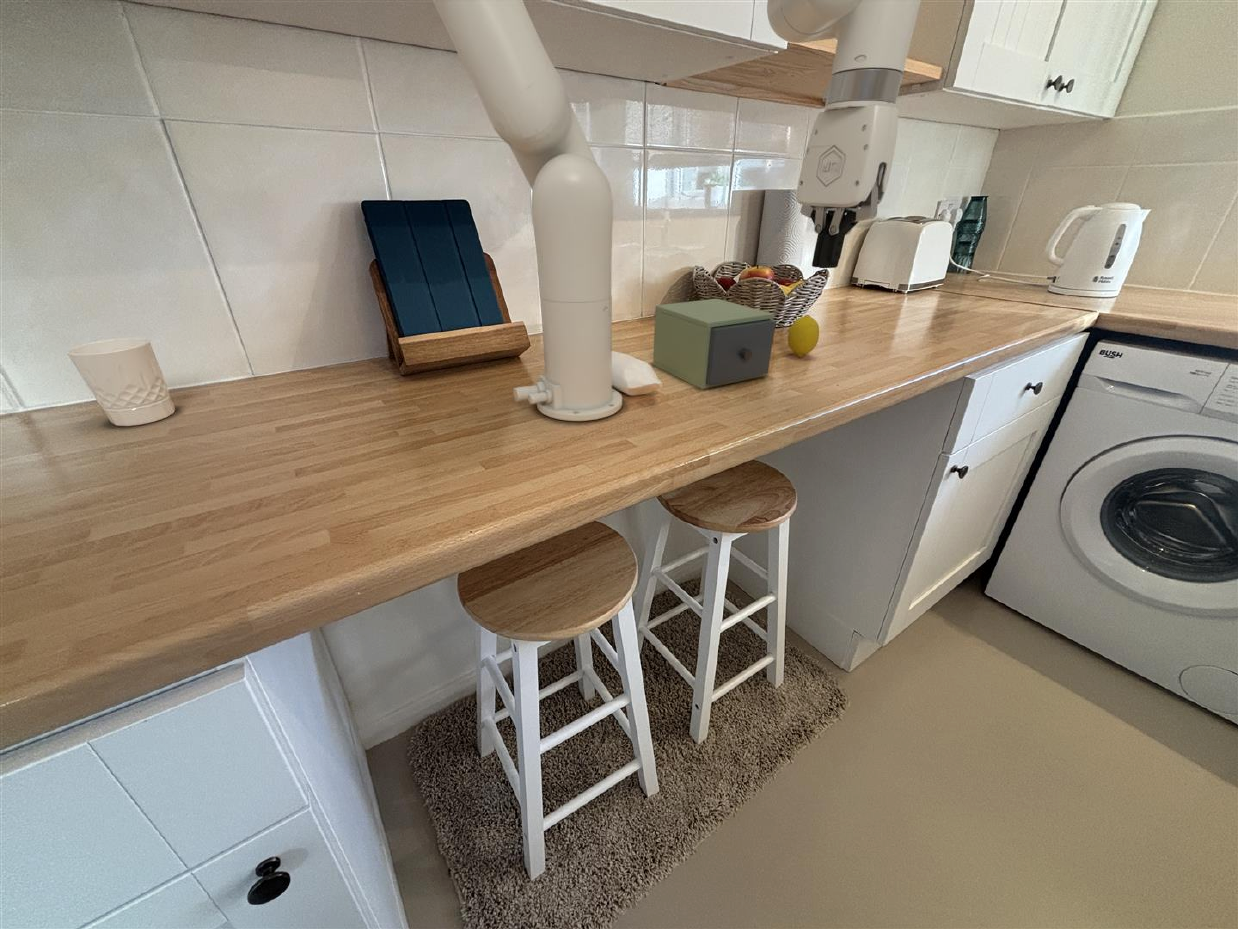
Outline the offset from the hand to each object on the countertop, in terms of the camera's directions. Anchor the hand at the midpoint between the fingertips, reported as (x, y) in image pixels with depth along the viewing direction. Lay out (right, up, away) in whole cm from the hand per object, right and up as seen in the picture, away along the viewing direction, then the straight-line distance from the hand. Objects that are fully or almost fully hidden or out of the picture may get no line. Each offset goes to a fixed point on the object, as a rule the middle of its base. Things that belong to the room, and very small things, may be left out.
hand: (824, 266), depth 65 cm
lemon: (+8, -6, +30) cm, 32 cm away
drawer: (-10, -10, +20) cm, 25 cm away
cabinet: (-12, -9, +23) cm, 27 cm away
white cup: (-93, -20, +3) cm, 95 cm away
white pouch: (-25, -15, +12) cm, 32 cm away
